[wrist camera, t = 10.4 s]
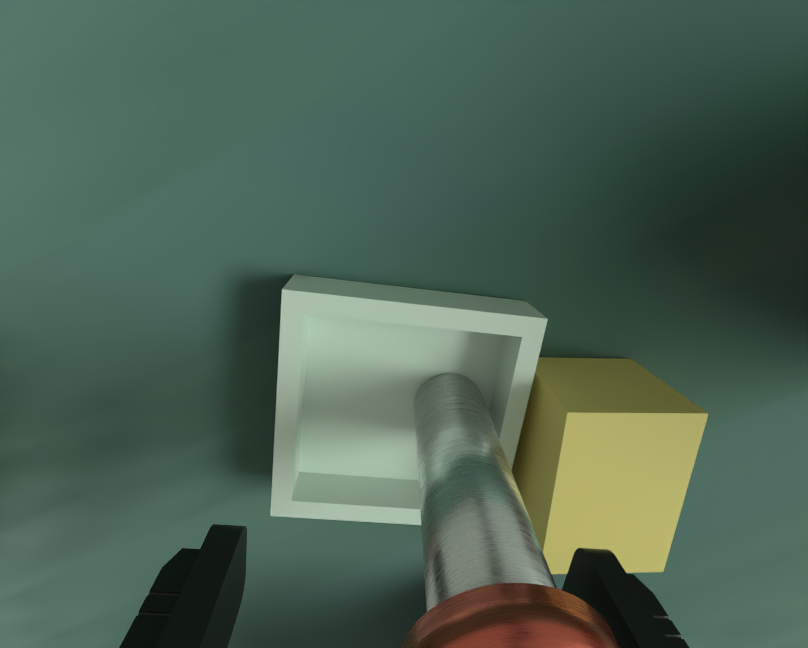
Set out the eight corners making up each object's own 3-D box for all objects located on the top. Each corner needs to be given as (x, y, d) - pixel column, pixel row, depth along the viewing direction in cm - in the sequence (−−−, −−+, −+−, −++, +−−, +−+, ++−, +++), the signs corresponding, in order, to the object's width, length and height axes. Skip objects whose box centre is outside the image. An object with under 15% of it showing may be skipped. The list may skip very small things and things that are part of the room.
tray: (294, 274, 18) (281, 289, 15) (525, 300, 19) (547, 318, 16) (282, 477, 21) (270, 515, 18) (483, 491, 22) (497, 529, 19)
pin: (404, 351, 19) (413, 636, 7) (508, 364, 19) (685, 660, 7) (391, 443, 20) (380, 812, 8) (488, 454, 20) (611, 828, 8)
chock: (521, 355, 20) (567, 412, 15) (629, 358, 20) (708, 413, 15) (503, 488, 22) (539, 574, 17) (601, 487, 22) (663, 571, 18)
